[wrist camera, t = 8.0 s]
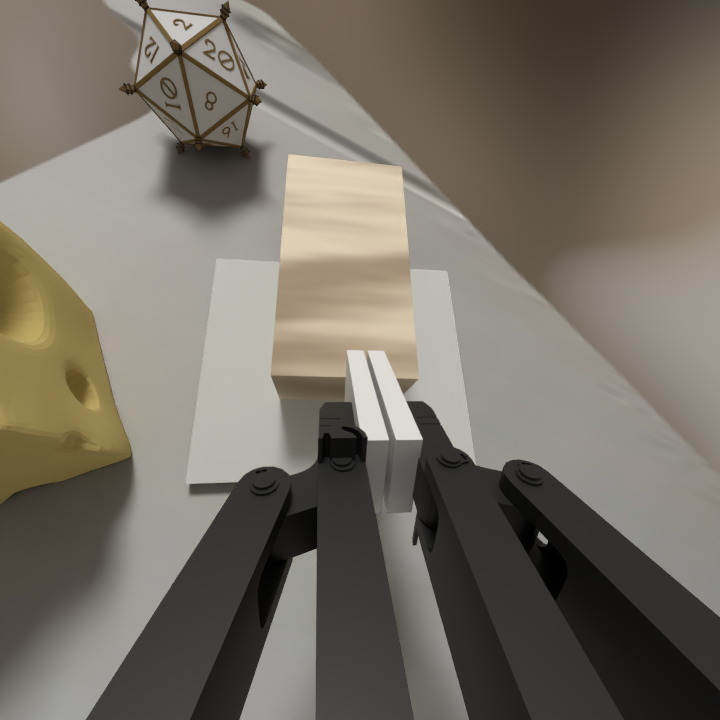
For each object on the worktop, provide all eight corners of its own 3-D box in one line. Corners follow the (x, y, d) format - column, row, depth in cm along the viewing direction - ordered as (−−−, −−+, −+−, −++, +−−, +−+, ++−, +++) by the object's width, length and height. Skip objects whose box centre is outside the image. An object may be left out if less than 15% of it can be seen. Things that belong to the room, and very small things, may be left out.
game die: (241, 169, 31) (295, 50, 25) (229, 211, 25) (294, 71, 20) (129, 97, 26) (165, -68, 20) (83, 130, 20) (115, -84, 15)
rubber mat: (472, 474, 20) (477, 473, 19) (189, 483, 18) (185, 483, 17) (444, 275, 25) (447, 271, 24) (218, 264, 23) (216, 258, 22)
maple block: (419, 379, 16) (401, 166, 21) (270, 375, 15) (288, 154, 20) (397, 400, 20) (386, 219, 25) (279, 399, 19) (292, 211, 24)
